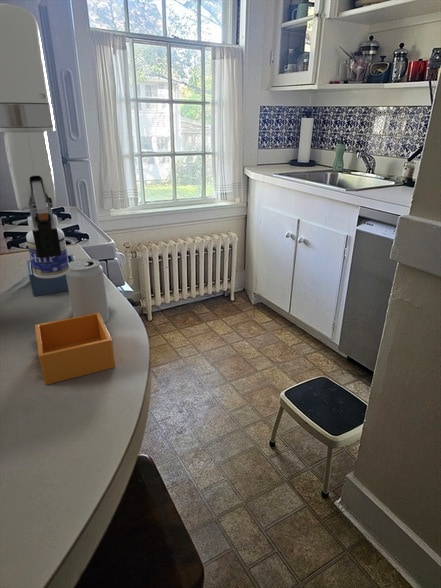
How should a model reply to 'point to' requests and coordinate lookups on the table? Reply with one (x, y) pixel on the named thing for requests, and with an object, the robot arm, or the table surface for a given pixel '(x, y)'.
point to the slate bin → (48, 282)
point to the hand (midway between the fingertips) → (47, 249)
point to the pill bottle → (48, 265)
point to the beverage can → (87, 288)
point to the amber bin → (74, 347)
